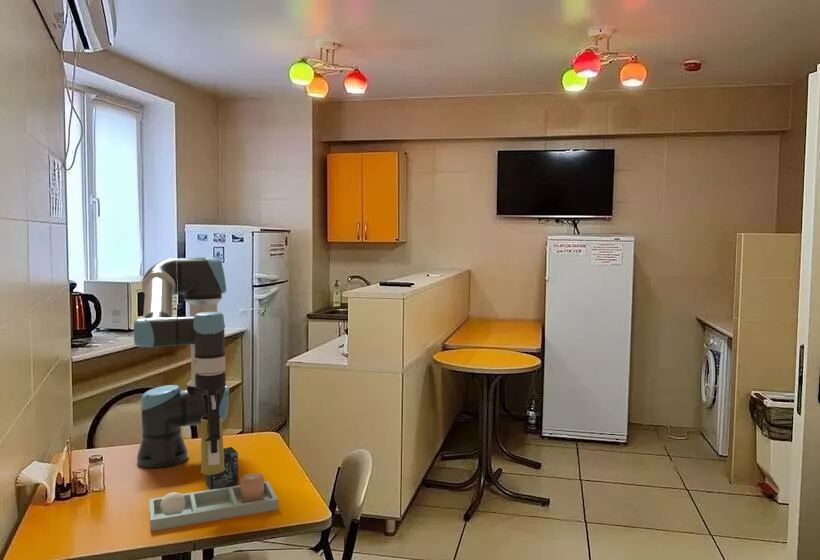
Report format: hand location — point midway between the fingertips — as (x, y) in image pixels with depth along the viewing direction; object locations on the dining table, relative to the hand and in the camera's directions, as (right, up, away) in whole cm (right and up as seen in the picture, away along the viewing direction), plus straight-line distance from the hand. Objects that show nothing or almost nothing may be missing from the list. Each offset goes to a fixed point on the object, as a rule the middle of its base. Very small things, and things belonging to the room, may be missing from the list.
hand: (212, 459), depth 167 cm
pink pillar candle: (+9, -13, +5) cm, 17 cm away
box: (-3, -13, +18) cm, 22 cm away
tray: (0, -14, +1) cm, 14 cm away
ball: (-9, -14, -3) cm, 17 cm away
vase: (0, -3, 0) cm, 3 cm away
